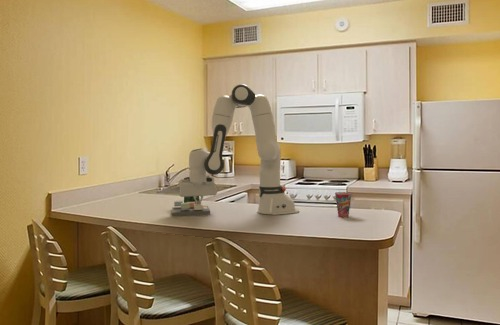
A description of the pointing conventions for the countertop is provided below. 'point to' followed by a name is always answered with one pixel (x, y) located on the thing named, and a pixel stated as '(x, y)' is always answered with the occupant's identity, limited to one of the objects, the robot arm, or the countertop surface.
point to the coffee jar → (190, 198)
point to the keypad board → (189, 211)
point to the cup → (343, 203)
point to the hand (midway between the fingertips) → (198, 204)
